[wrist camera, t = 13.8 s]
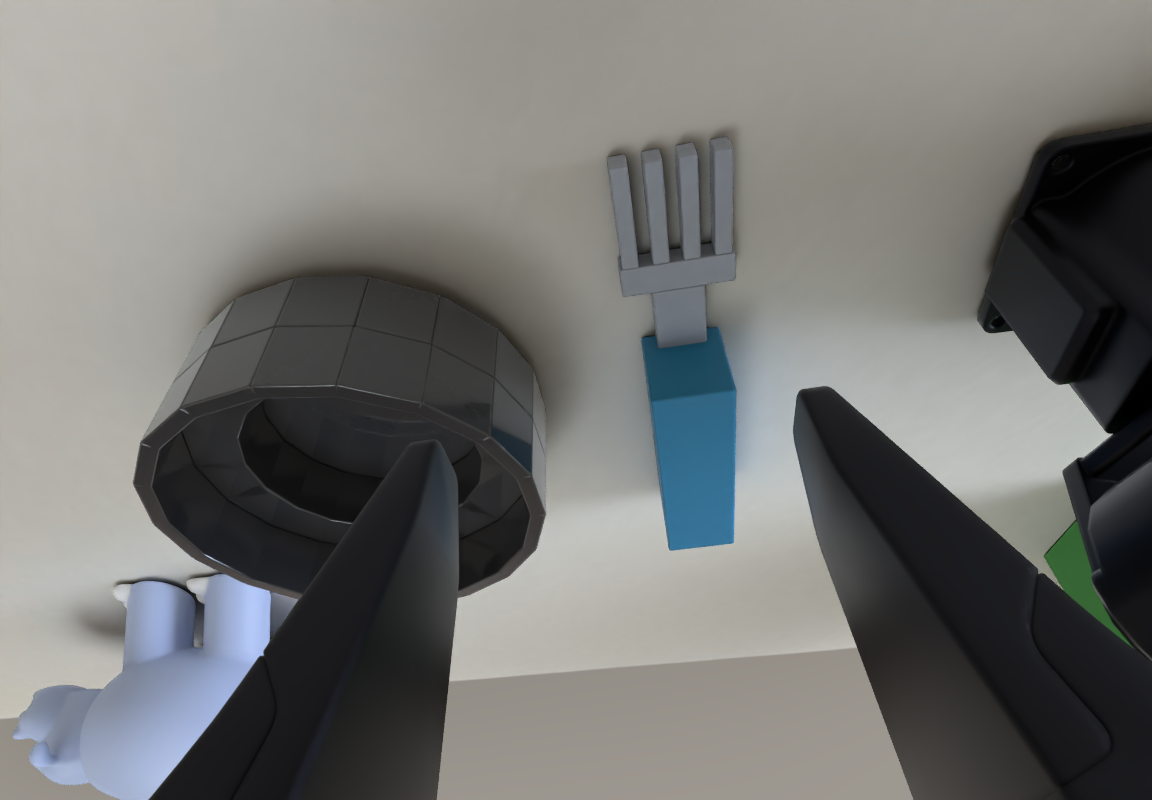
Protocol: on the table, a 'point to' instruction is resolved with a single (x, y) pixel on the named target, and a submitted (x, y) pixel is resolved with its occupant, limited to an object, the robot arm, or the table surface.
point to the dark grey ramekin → (341, 429)
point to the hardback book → (1078, 575)
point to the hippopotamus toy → (151, 688)
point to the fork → (685, 340)
